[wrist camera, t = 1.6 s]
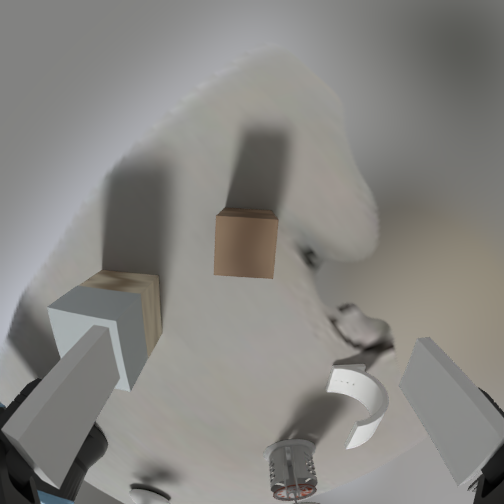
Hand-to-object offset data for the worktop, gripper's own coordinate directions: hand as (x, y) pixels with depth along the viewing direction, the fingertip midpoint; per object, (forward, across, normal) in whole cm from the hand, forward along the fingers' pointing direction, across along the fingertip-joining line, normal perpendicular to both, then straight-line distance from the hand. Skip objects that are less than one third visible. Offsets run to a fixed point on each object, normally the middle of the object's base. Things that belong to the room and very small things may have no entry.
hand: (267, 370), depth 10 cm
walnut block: (+21, -1, +2) cm, 21 cm away
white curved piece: (+22, +14, -19) cm, 32 cm away
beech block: (+21, -16, -8) cm, 28 cm away
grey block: (+15, -16, -8) cm, 23 cm away
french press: (+22, +8, -38) cm, 44 cm away
